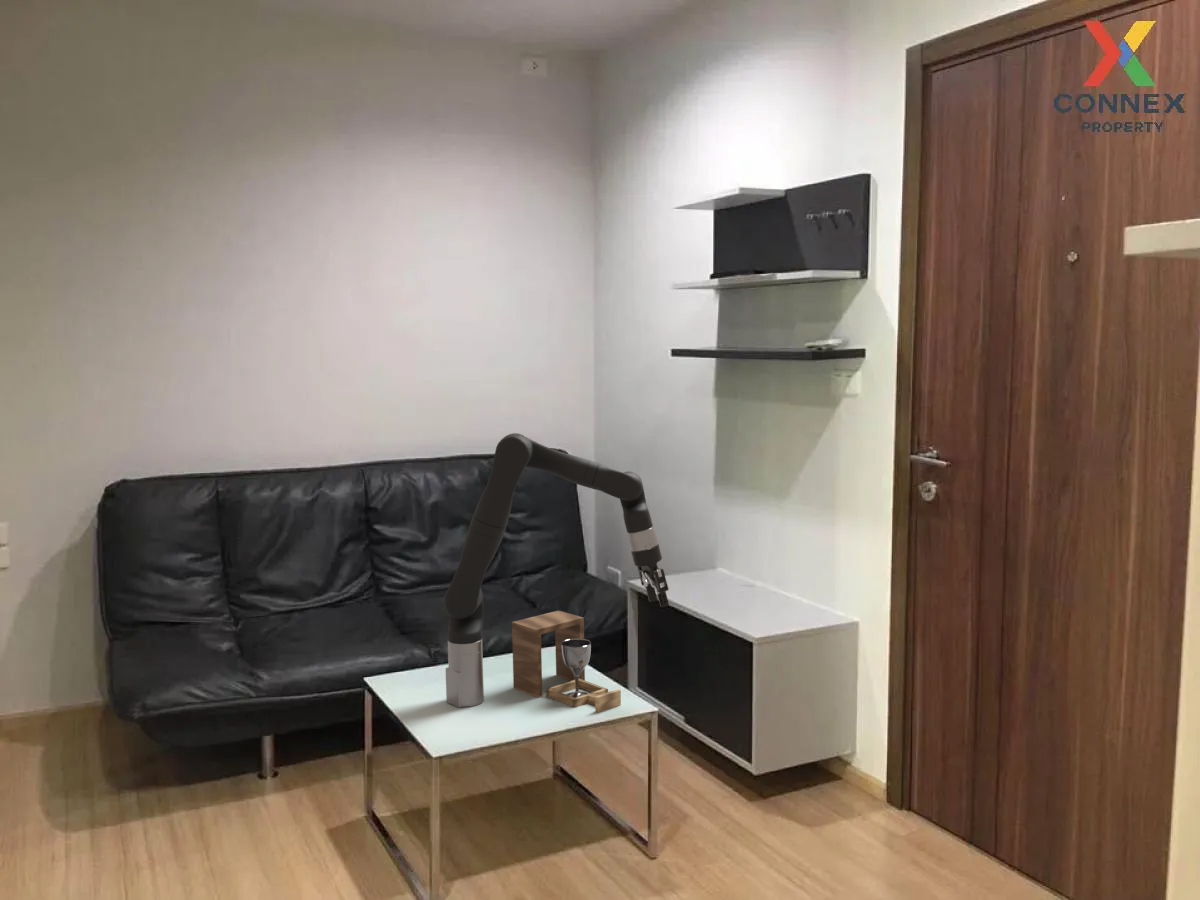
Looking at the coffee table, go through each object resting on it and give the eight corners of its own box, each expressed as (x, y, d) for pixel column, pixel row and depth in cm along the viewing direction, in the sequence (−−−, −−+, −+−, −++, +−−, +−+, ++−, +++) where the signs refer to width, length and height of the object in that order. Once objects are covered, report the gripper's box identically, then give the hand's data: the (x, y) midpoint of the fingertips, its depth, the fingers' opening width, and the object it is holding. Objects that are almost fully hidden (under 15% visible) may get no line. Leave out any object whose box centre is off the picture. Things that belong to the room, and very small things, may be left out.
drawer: (592, 714, 266) (592, 699, 266) (546, 695, 281) (546, 681, 280) (626, 702, 274) (626, 688, 274) (579, 685, 289) (579, 671, 288)
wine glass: (588, 701, 275) (587, 647, 274) (559, 700, 277) (558, 646, 275) (594, 691, 283) (593, 639, 282) (566, 690, 285) (565, 637, 283)
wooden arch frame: (538, 697, 279) (536, 629, 277) (513, 687, 287) (511, 621, 285) (584, 682, 291) (583, 617, 288) (560, 673, 299) (558, 610, 297)
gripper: (622, 546, 276) (637, 603, 278) (640, 552, 263) (655, 612, 264) (647, 538, 278) (662, 595, 280) (666, 544, 265) (681, 603, 266)
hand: (659, 603), depth 272 cm, fingers open, 8 cm apart
